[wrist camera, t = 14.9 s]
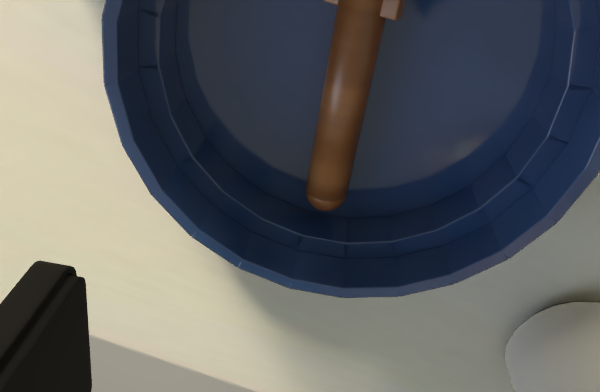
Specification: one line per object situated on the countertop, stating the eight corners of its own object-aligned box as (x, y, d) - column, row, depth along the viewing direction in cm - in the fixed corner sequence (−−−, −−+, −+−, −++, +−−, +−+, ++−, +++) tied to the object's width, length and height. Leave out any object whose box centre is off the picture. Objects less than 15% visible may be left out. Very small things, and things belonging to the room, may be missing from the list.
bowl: (148, -250, 21) (90, -277, 16) (678, -158, 20) (761, -162, 16) (145, 200, 31) (108, 256, 26) (501, 264, 30) (523, 331, 26)
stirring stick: (355, -109, 22) (333, -110, 21) (433, -94, 21) (416, -93, 20) (303, 188, 29) (284, 204, 28) (360, 211, 28) (344, 229, 27)
